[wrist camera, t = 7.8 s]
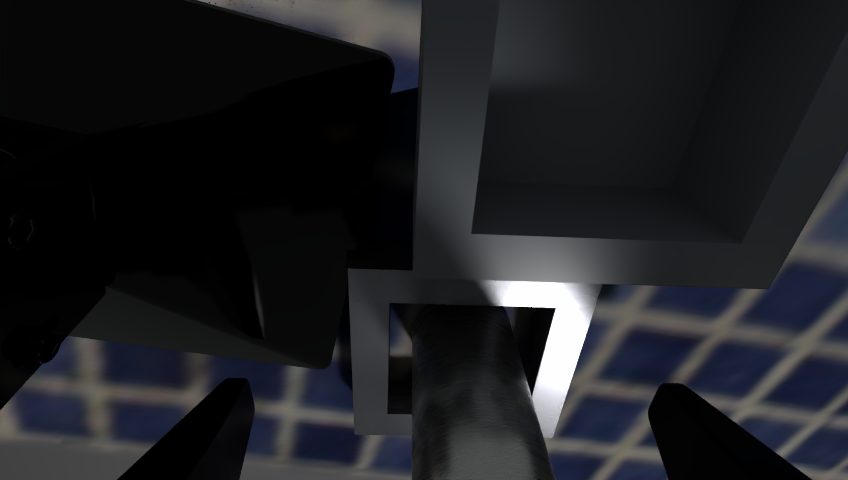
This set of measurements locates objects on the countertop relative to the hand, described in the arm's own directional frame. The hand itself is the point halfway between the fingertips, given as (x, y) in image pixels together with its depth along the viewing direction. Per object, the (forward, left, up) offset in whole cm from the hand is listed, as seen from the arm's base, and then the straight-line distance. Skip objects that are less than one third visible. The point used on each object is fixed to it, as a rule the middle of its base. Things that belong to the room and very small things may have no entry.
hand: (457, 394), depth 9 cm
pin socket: (0, 0, -2) cm, 2 cm away
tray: (-2, -6, -2) cm, 7 cm away
